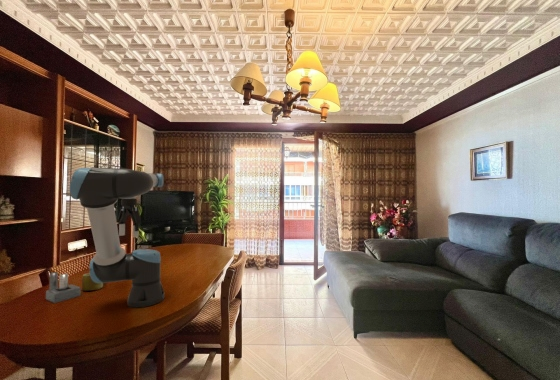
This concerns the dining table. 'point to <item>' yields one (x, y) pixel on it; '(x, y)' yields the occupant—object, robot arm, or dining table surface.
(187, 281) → the dining table surface
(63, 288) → the pin
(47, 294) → the grey l-shaped block
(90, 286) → the mug
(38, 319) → the dining table surface
